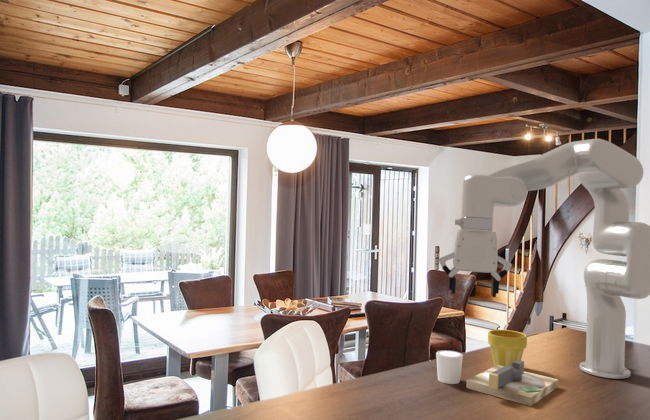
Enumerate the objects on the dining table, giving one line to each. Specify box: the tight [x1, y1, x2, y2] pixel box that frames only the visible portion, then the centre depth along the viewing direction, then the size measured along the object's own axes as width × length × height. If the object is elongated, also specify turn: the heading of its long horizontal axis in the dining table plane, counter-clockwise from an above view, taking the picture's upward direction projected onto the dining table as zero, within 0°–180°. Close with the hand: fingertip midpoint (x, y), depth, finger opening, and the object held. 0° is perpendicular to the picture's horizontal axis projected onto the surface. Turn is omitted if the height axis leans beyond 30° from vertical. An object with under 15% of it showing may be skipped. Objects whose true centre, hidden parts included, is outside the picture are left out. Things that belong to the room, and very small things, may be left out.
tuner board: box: [466, 365, 559, 407], centre depth 127 cm, size 18×16×2 cm
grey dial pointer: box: [489, 360, 525, 389], centre depth 125 cm, size 16×4×3 cm, turn 137°
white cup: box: [435, 349, 464, 385], centre depth 131 cm, size 7×7×7 cm
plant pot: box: [487, 329, 528, 367], centre depth 143 cm, size 10×10×10 cm
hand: (472, 294), depth 124 cm, fingers open, 9 cm apart
